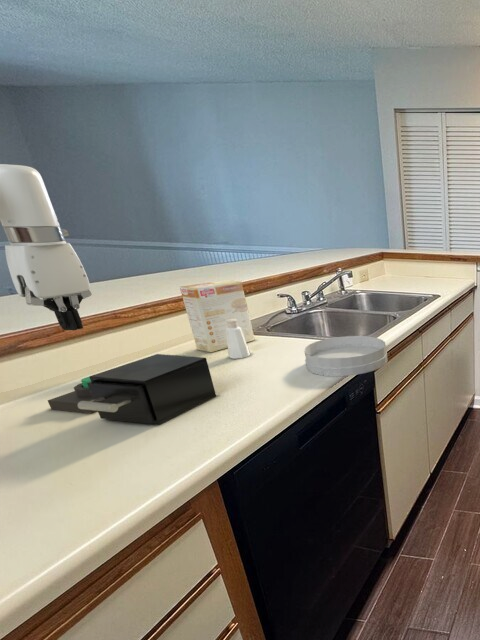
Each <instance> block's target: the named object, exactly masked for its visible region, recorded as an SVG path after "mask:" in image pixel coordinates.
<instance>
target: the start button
mask: <svg viewBox="0 0 480 640" xmlns="http://www.w3.org/2000/svg"><path fill="white" fill-rule="evenodd" d="M80 382H81V383H82V384H83V387H84V388H88V385H87V383H89V382H91V380H90V377H89V376H86V377H84V378H81V380H80Z"/></svg>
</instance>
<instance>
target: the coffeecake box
mask: <svg viewBox="0 0 480 640" xmlns="http://www.w3.org/2000/svg"><path fill="white" fill-rule="evenodd" d="M179 290H180V294H181V297H182V300H183V301H182V302H183V304H184V309H185V311H186V314H187V318H188V322H189V325H190V329H191V333H192V336H193V340H194V343H195V347H196V350H197V351H201V352H207V353H213V352H214V353H215V352H217V351H221V350H224V349H228V343H227V334H226V329H227V328H228V326H227V323H226V320H228V319H237V323H238V327H240V328H241V330H242V332H243V335H244V338H245V341H246V343H250V342H253V341H255V340H256V339H255V335H254V330H253V325H252V322H251V316H250V313H249V307H248V303H247V299H246V295H245V291H244V285H243V282H242V281H240V280H234V279H224V280H218V281H210V282H203V283H202V282H201V283H197V284H196V283H195V284H190V285H182V286H179Z"/></svg>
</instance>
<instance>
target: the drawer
mask: <svg viewBox="0 0 480 640" xmlns="http://www.w3.org/2000/svg"><path fill="white" fill-rule="evenodd" d="M87 385H88V387H89V390H90V392H91V395H92V397H93V400H91V401H80V402H79V403H78V408H79V409H85V410H95V411H96V412H98V416H99V417H100V419H101V420H106V419H111V420H110V421H115V420H121V421H120V422H125V421H131V422H130V423H135V422H141V423H140V424H145V423H152V422H154V421H155V419H154V416H153V413H152V410H151V407H150V404H149V401H148V398H147V395H146V392H145V389H144V386H143V384H132V383H120V382H108V381H104V382H99V381H92V382H89V383H87Z"/></svg>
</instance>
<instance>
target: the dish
mask: <svg viewBox="0 0 480 640" xmlns="http://www.w3.org/2000/svg"><path fill="white" fill-rule="evenodd" d="M386 346H387V345H386V342H385V341H384V340H383V339H382V338H378V337H374V336H365V335H346V336H344V335H343V336H337V337H330V338H324V339H321V340H317V341H314V342H312V343H310V344H308V345H307V346H305V348H304V350H303V352H304V356H305V360H304V362H305V367H306V370H307V371H308V372H310V373H312V374H313V375H318V376H322V377H323V376H324V377H349V376H358V375H362V374H367V373H371V372H373V371H376V370H378V369H381V368H382V367H384V366H386V364H387V363H388V352H387V347H386Z"/></svg>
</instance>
